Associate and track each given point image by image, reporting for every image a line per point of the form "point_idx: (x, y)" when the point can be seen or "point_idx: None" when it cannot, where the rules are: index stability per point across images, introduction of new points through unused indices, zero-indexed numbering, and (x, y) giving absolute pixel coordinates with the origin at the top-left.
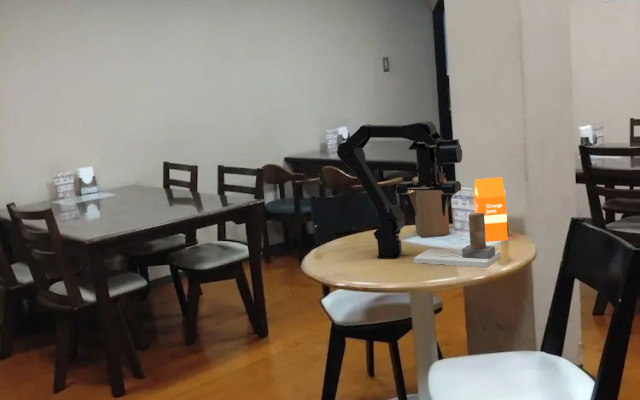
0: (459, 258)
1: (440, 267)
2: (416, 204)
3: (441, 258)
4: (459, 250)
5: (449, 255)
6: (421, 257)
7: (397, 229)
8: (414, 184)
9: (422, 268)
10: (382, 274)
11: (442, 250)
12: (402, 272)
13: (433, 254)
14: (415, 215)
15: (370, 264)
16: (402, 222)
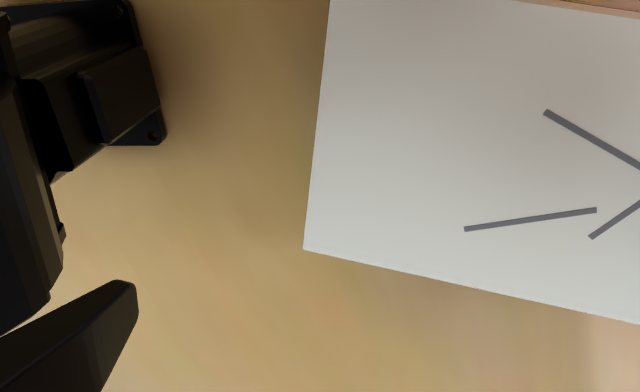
0: (623, 274)
1: (489, 313)
2: (7, 386)
3: (489, 266)
4: (632, 48)
5: (543, 202)
6: (348, 238)
7: (61, 261)
8: None
9: (389, 322)
10: (231, 383)
11: (467, 52)
12: (308, 368)
13: (414, 172)
14: (133, 314)
15: (91, 244)
16: (7, 187)
